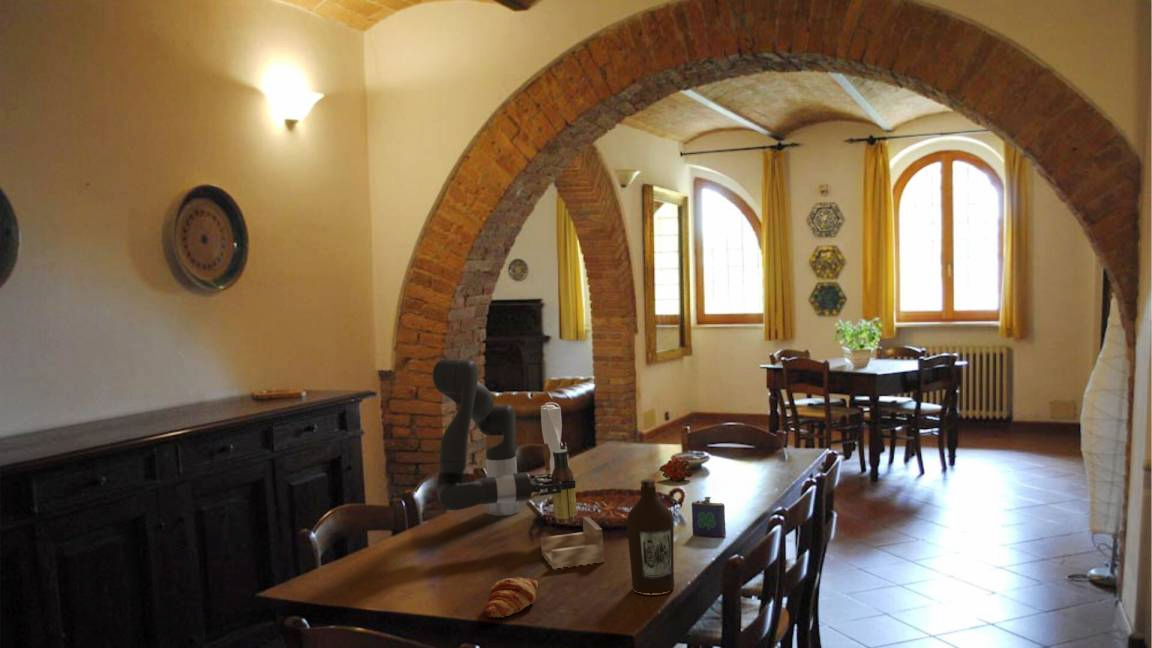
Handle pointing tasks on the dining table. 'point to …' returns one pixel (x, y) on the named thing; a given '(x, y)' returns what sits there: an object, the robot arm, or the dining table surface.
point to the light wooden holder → (575, 547)
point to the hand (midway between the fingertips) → (571, 481)
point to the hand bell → (547, 458)
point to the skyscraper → (552, 429)
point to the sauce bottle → (566, 499)
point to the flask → (708, 519)
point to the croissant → (510, 596)
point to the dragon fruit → (677, 469)
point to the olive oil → (651, 542)
